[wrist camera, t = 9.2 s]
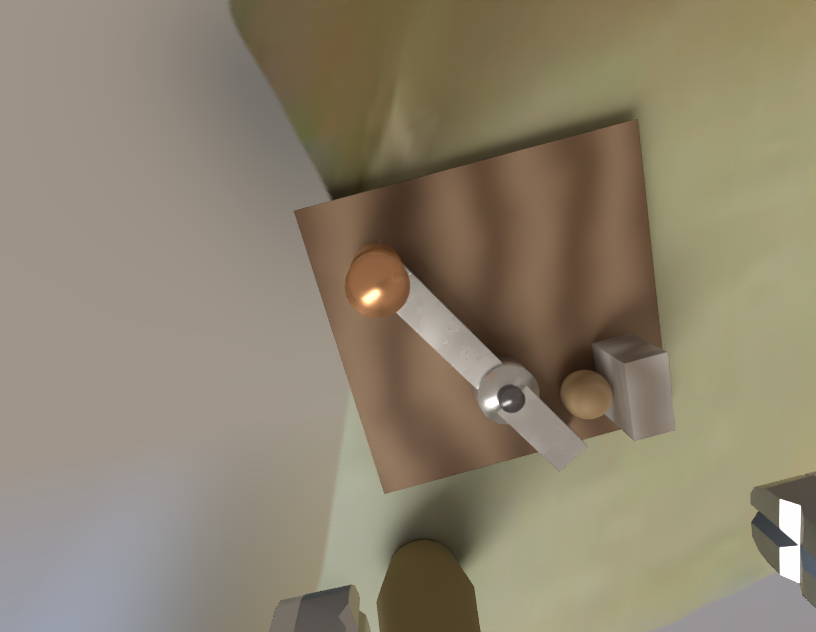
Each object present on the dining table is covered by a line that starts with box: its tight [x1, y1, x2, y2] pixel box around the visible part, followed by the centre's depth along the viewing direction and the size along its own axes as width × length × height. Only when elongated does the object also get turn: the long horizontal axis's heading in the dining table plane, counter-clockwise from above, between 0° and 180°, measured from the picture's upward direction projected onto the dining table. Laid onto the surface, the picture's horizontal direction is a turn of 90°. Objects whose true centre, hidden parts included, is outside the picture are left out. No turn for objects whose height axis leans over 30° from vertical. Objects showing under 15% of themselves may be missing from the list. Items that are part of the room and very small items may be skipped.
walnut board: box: [294, 119, 675, 494], centre depth 30 cm, size 24×23×6 cm
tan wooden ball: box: [560, 370, 613, 419], centre depth 32 cm, size 4×4×4 cm
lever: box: [345, 239, 588, 471], centre depth 27 cm, size 4×22×9 cm, turn 45°
